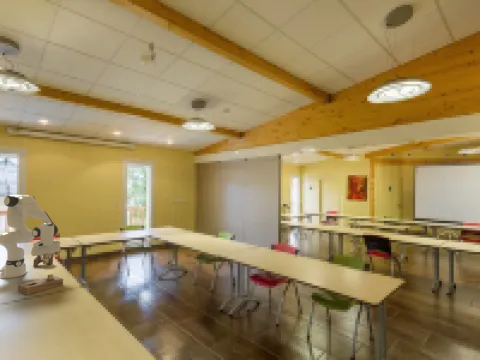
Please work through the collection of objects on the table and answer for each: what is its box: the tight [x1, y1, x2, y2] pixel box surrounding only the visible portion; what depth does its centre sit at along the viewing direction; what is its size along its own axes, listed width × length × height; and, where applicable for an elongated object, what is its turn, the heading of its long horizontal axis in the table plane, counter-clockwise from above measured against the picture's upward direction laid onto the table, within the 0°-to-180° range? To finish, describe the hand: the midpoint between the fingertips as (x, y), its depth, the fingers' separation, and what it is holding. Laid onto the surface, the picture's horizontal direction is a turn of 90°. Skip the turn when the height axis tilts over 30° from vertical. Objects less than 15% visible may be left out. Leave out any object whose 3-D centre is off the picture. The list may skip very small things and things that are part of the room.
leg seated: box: [47, 274, 54, 281], centre depth 202 cm, size 4×4×8 cm
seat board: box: [17, 275, 64, 296], centre depth 197 cm, size 14×24×4 cm, turn 154°
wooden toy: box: [33, 252, 55, 268], centre depth 252 cm, size 16×7×25 cm, turn 129°
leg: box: [42, 253, 49, 265], centre depth 210 cm, size 4×4×8 cm
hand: (45, 259), depth 210 cm, fingers closed on leg, 4 cm apart
